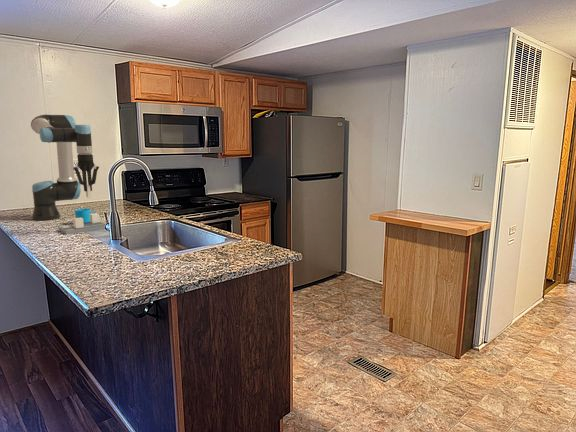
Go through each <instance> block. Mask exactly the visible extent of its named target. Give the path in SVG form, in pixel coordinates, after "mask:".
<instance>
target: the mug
mask: <svg viewBox="0 0 576 432" xmlns="http://www.w3.org/2000/svg"><path fill="white" fill-rule="evenodd" d="M91 212H92V213H97V212H96V211H94V210H91V208H78V209H75V210H74V215H75V218H83V223H85V222H90V215H89V214H92V213H91Z"/></svg>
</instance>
